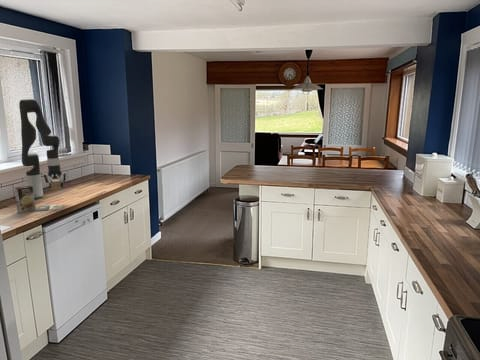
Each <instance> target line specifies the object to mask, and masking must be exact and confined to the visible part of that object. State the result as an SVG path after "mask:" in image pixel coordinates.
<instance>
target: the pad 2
mask: <svg viewBox="0 0 480 360" xmlns="http://www.w3.org/2000/svg"><path fill="white" fill-rule="evenodd" d="M63 206H64V205H63V204H61V203H60V204H52V205H51V204H50V207H49V209H48V211H53V210H54V211H55V210H56V211H57V210H62V208H63Z"/></svg>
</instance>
